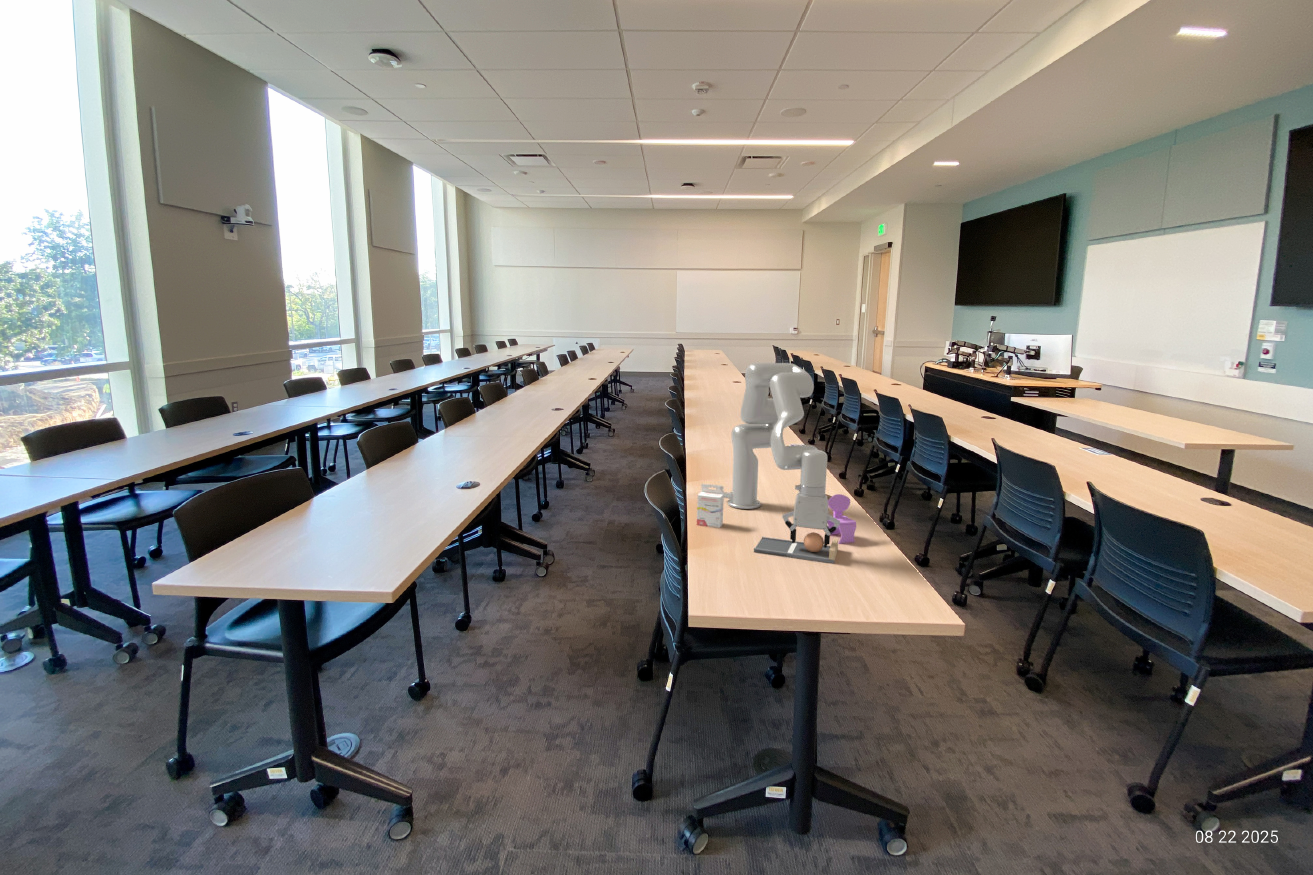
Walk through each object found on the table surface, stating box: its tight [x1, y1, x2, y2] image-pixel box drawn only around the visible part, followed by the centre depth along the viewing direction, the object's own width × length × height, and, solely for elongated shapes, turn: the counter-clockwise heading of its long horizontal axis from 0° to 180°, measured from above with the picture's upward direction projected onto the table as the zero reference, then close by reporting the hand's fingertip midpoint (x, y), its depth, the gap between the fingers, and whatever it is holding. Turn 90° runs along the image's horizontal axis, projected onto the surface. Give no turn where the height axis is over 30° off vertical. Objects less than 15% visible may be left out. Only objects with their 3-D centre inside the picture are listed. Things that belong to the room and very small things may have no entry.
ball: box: [803, 532, 824, 552], centre depth 184 cm, size 6×6×6 cm
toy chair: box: [827, 493, 857, 545], centre depth 196 cm, size 8×9×15 cm
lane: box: [753, 536, 839, 565], centre depth 187 cm, size 24×12×4 cm, turn 68°
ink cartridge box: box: [696, 483, 725, 529], centre depth 209 cm, size 9×5×15 cm, turn 71°
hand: (809, 544), depth 185 cm, fingers open, 9 cm apart
